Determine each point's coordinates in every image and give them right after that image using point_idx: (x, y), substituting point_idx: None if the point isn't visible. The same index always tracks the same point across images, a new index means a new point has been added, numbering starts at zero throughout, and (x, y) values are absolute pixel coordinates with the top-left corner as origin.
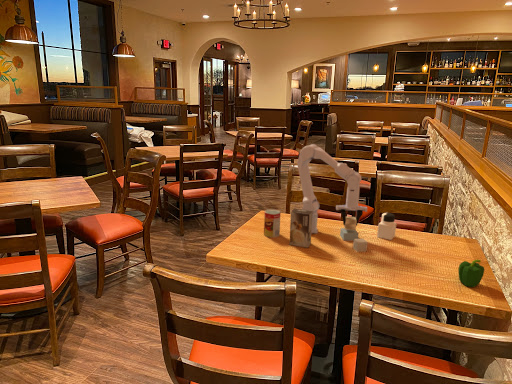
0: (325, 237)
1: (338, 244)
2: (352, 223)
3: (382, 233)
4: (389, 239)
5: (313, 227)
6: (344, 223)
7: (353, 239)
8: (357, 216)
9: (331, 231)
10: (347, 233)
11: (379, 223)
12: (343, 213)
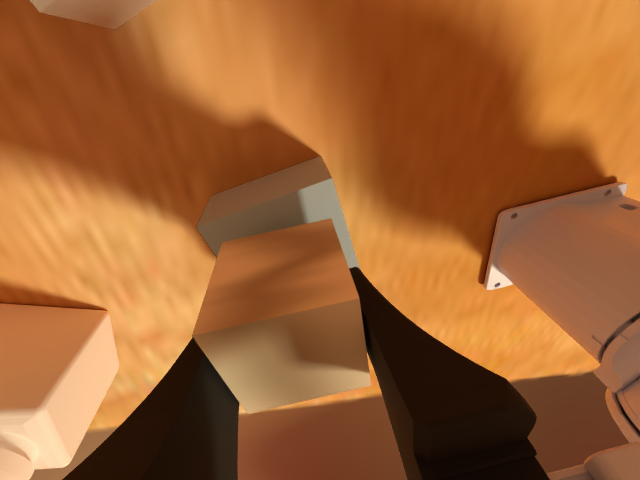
0: (454, 163)
1: (358, 24)
2: (256, 283)
3: (44, 335)
4: (4, 304)
5: (558, 232)
6: (356, 275)
7: (242, 188)
8: (175, 414)
9: (401, 280)
10: (298, 189)
11: (34, 420)
12: (467, 390)
